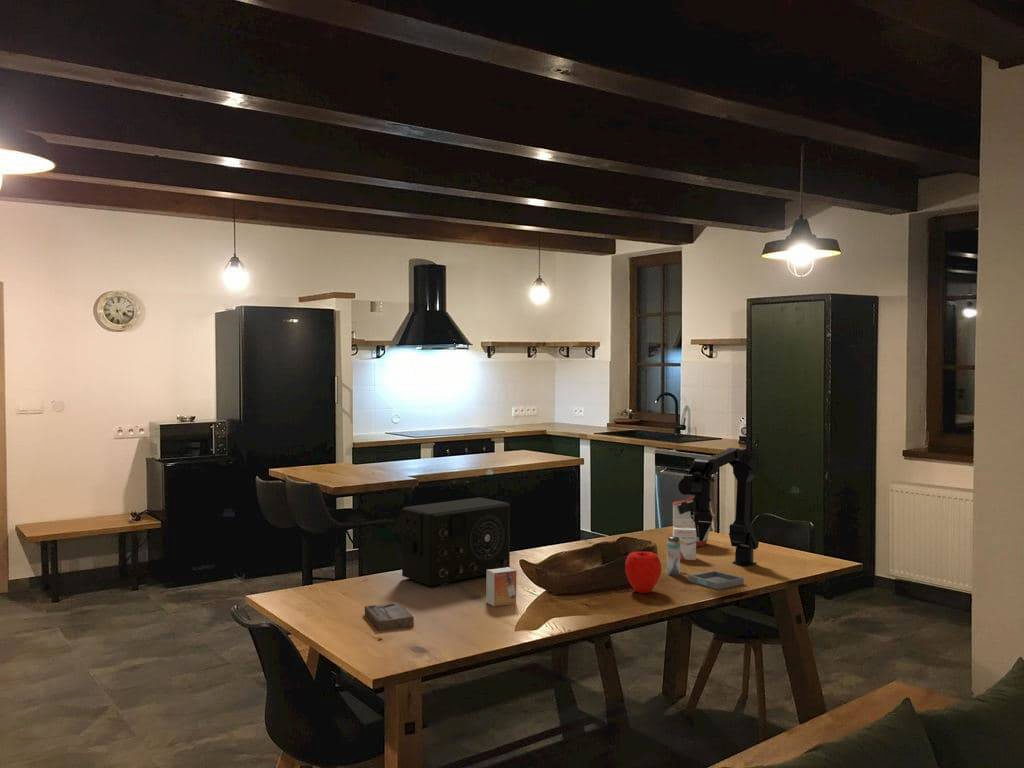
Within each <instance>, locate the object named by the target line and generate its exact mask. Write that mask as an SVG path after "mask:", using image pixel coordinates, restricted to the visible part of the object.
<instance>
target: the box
mask: <svg viewBox="0 0 1024 768" xmlns="http://www.w3.org/2000/svg"><path fill="white" fill-rule="evenodd" d="M364 616H365V617H366V619H368V620H369V622H370V623H371V624H372V625H373V626H374V627H375V629H376V630H377V631H378V632H380V631H389V630H394V629H395V630H396V629H397V630H398V629H406V628H413V627H414V626H415V625H414V616H413V615H412V614H411V613H410V612H409V611H408V610H407V609H406V608H405V607H404V606H402V605H401V604H400V603H399V602H391V603H390V602H387V603H381V604H374V605H366V606H364Z"/></svg>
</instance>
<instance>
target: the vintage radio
mask: <svg viewBox="0 0 1024 768" xmlns="http://www.w3.org/2000/svg"><path fill="white" fill-rule="evenodd" d="M510 505H511V504H510V502H506V501H501V500H496V499H489V498H486V497H485V498H484V497H480V496H479V497H472V498H471V497H470V498H463V499H459V500H458V499H456V500H450V501H442V502H441V501H440V502H433V503H427V504H418V505H411V506H403V507H402V508H401V510H400V513H401V514H400V516H401V517H400V519H401V520H400V521H401V522H400V523H401V525H400V527H401V529H400V531H401V535H400V536H401V537H400V540H401V544H400V545H401V546H400V547H401V548H400V549H401V566H402V567H401V568H402V569H401V570H402V571H401V575H402V577H403V578H406V579H409V580H410V581H416V582H418V583H421V584H424V585H426V586H430V587H431V588H438V585H442V584H447V583H452V582H456V581H461V580H466V579H471V578H476V577H477V578H478V577H480V576H481V577H482V576H486V572H487V570H488V569H499V568H506V567H510V568H511V566H510V565H511V563H510V562H511V561H510V560H511V558H510V556H511V555H510V554H511V553H510V552H511V550H510V549H511V548H510V544H511V542H510V540H511V539H510V538H511V534H510V533H511V532H510V531H511V530H510V529H511V525H510V523H511V522H510V521H511V520H510V518H511V515H510V514H511V513H510V512H511V511H510V510H511V507H510Z"/></svg>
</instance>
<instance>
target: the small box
mask: <svg viewBox="0 0 1024 768" xmlns="http://www.w3.org/2000/svg"><path fill="white" fill-rule="evenodd" d="M485 576H486V584H485V585H486V588H485V589H486V593H485V594H486V595H485V596H486V597H485V598H486V599H485V600H486V601H485V602H486V603H487V604H489V605H490V606H492V607H499V606H500V607H501V606H508V605H509V606H510V605H516V604H517V570H516V569H515V568H514V569H513V568H511V566H510V567H506V568H499V569H488V570H487V572H486V575H485Z"/></svg>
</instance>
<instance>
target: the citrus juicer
mask: <svg viewBox="0 0 1024 768" xmlns="http://www.w3.org/2000/svg"><path fill="white" fill-rule="evenodd" d="M693 496H694V495H689V497H688V498H687V499H686V500H676V501H673V502H672V528H673V527H674V519H689V520H693V519H692V518H691V517H690V516H691V515H690V511H689V512H685V513H684V514H679V511H678V508H677V504H680V503H681V502H685V501H686V502H688V501H692V497H693ZM710 514H711V515H712V516H713V517H715V516H716V515H715V513H714V512H713V511H712V504H710ZM692 516H693V515H692ZM681 524H688V522H681ZM695 529H696V528H695ZM710 531H711V526H710V527H709V529H708V531H707V533H706V535H705V537H704V539H703V541H699V537H697V535H696V547H704V546H705V545H707V542H708V539H709V536H710Z"/></svg>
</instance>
